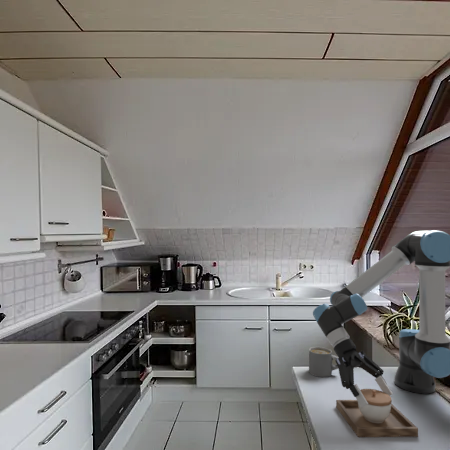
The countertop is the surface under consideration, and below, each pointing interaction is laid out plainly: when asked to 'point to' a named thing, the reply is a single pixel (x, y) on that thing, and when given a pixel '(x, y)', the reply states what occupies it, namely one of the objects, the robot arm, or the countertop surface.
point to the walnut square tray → (389, 428)
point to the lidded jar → (375, 405)
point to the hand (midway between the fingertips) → (377, 400)
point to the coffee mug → (321, 362)
